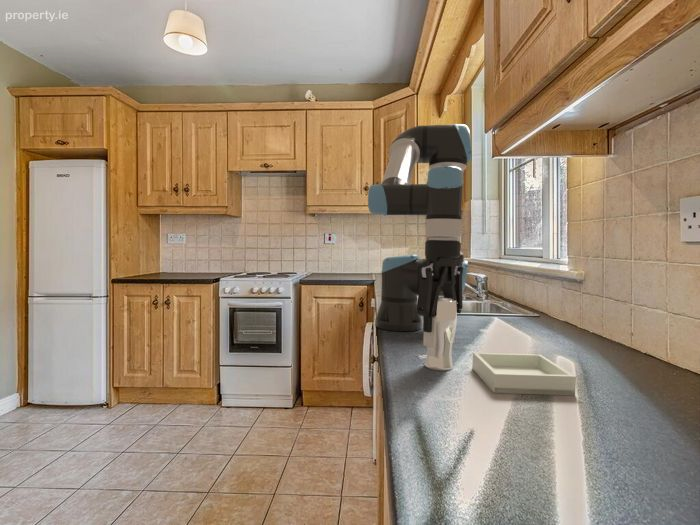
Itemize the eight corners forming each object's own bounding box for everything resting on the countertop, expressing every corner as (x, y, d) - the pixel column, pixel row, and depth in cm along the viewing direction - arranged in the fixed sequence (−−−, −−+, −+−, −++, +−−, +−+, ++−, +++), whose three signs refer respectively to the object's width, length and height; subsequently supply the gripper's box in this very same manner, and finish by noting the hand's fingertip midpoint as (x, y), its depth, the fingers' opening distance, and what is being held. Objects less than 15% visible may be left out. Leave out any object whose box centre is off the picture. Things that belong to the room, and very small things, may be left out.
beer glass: (455, 363, 92) (457, 297, 92) (454, 372, 86) (457, 301, 85) (424, 360, 94) (426, 296, 93) (421, 369, 87) (423, 299, 87)
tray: (472, 368, 89) (472, 352, 89) (539, 370, 89) (540, 354, 88) (494, 393, 74) (494, 374, 74) (575, 395, 74) (576, 376, 74)
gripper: (452, 240, 98) (449, 334, 99) (400, 238, 84) (397, 347, 86) (481, 240, 93) (477, 340, 94) (430, 238, 79) (426, 355, 80)
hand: (439, 343), depth 90 cm, fingers closed on beer glass, 7 cm apart
